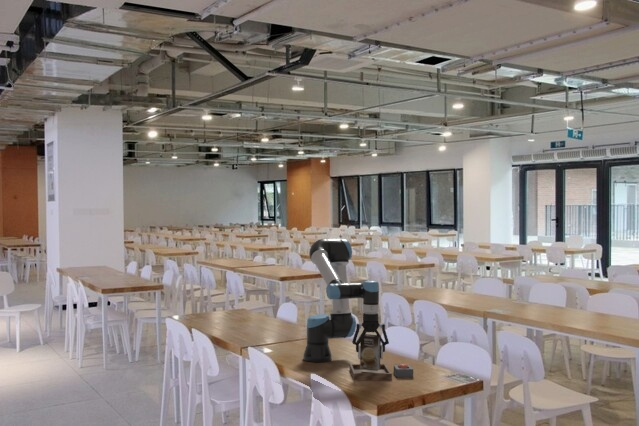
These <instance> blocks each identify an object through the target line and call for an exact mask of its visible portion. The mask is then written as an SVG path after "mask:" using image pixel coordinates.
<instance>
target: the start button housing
mask: <svg viewBox="0 0 639 426" xmlns="http://www.w3.org/2000/svg"><path fill="white" fill-rule="evenodd" d="M407 365H408V368H399V364H393V374H394V376H395V377H396V378H399V379H401V377H402V378H404V379H405V378H409V379H410V377H413V378H414V368H413V367H412V365H410V364H407Z"/></svg>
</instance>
